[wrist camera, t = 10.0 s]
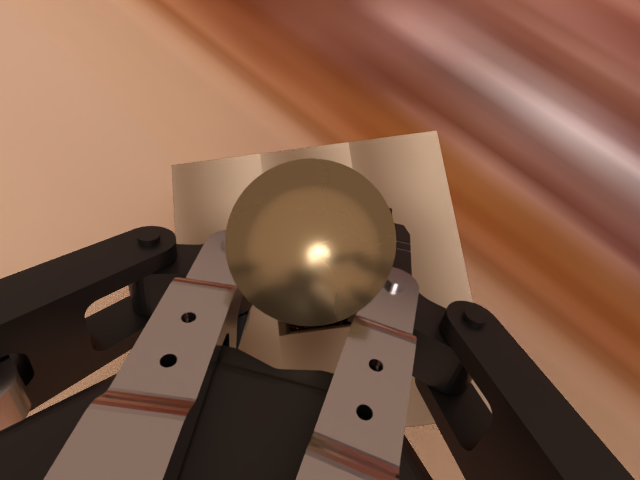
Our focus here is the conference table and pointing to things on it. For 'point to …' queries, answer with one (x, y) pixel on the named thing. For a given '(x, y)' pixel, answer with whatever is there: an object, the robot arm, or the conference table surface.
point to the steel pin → (310, 242)
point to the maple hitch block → (407, 209)
